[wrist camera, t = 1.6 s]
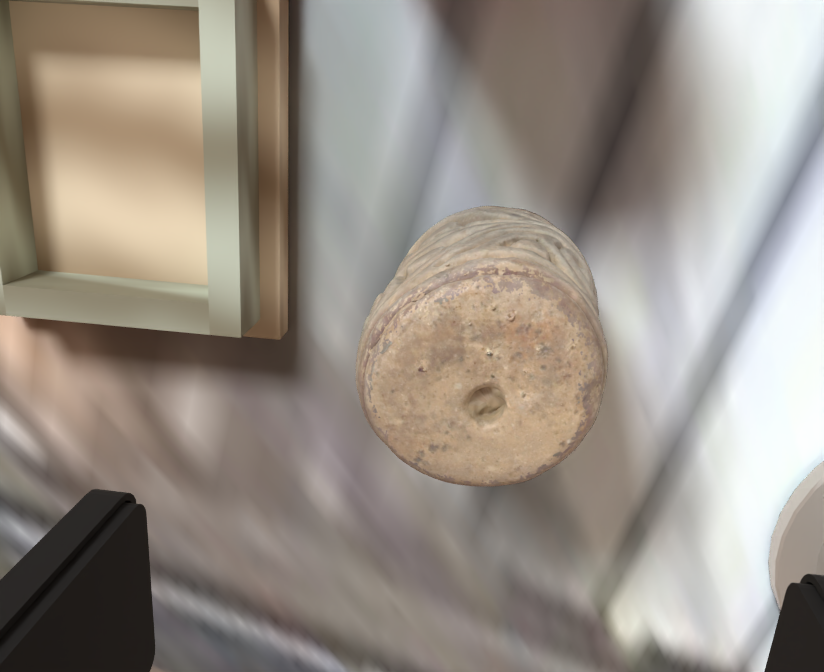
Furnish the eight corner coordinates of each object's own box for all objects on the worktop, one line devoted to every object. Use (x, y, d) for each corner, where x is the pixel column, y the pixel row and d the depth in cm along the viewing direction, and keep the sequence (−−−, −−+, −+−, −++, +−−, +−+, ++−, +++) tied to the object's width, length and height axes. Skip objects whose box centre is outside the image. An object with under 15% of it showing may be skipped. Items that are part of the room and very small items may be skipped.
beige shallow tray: (288, 330, 32) (262, 359, 28) (15, 304, 33) (-40, 330, 29) (288, -44, 27) (258, -60, 24) (-30, -59, 28) (-101, -76, 25)
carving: (616, 273, 29) (683, 397, 18) (469, 390, 32) (448, 566, 20) (506, 148, 28) (505, 198, 17) (364, 279, 31) (279, 400, 19)
